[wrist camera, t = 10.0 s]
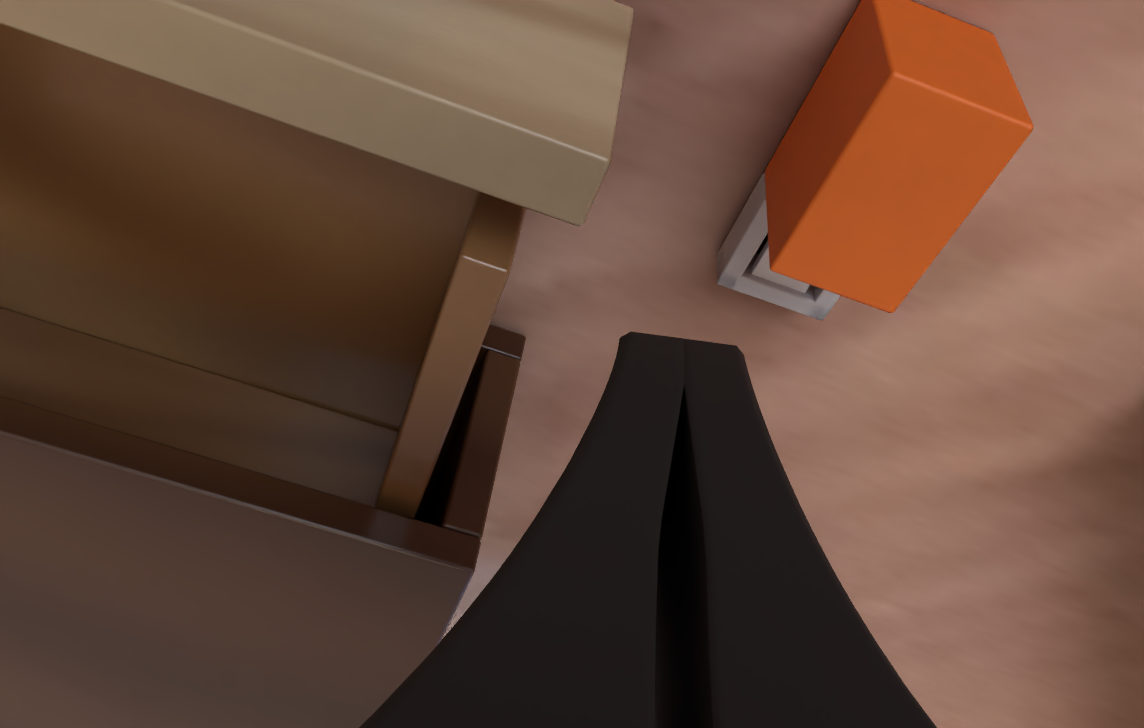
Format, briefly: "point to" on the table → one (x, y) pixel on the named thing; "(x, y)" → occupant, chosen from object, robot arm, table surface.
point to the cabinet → (225, 575)
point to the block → (878, 163)
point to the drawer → (285, 214)
